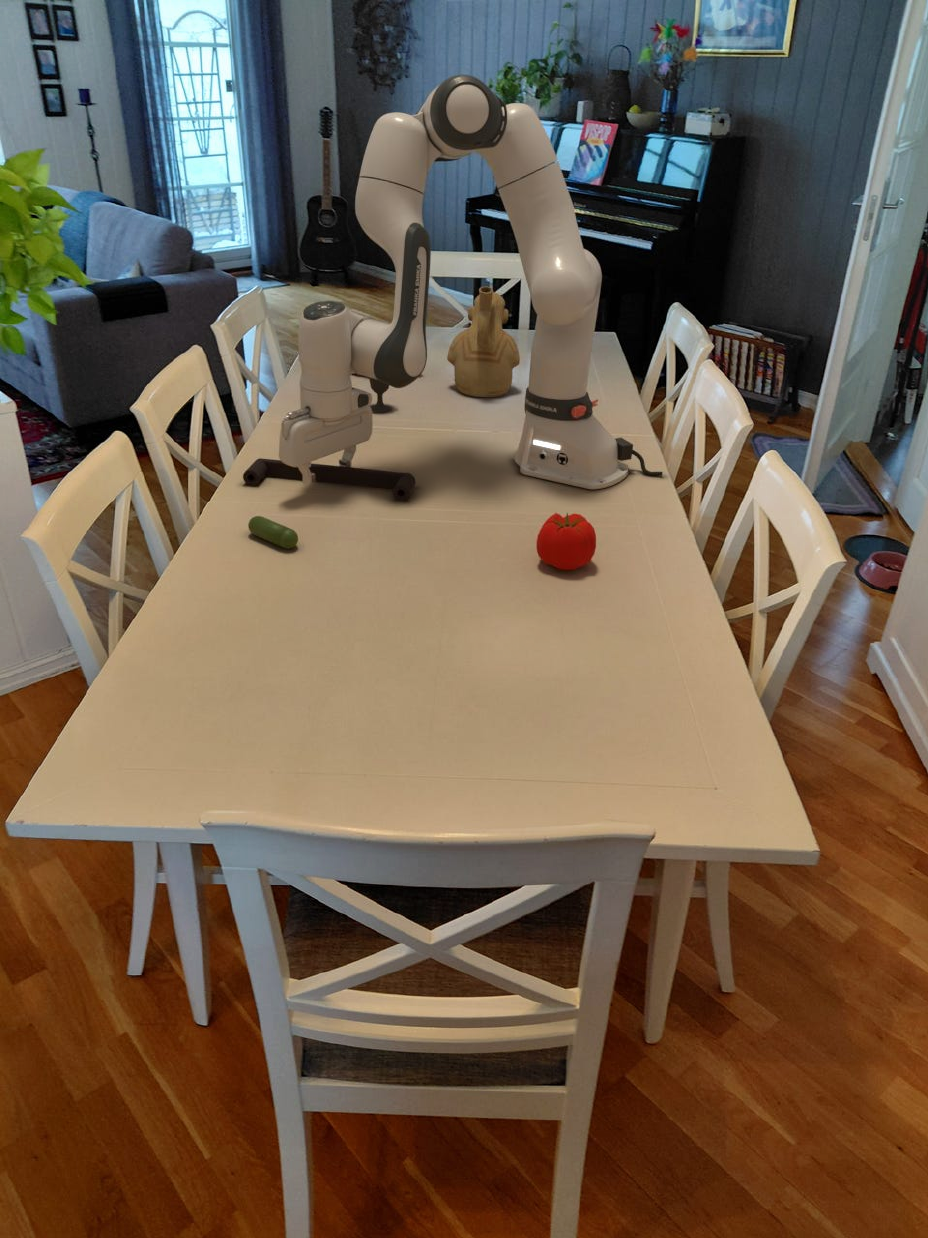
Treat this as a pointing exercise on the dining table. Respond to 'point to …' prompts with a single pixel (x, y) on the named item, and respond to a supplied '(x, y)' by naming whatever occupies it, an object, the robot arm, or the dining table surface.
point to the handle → (334, 476)
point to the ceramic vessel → (484, 349)
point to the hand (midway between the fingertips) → (327, 475)
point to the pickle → (273, 532)
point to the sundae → (379, 395)
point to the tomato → (566, 541)
